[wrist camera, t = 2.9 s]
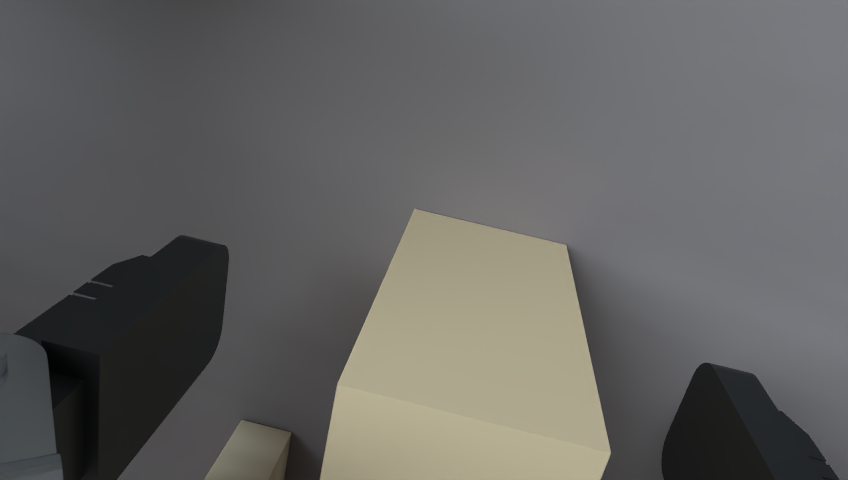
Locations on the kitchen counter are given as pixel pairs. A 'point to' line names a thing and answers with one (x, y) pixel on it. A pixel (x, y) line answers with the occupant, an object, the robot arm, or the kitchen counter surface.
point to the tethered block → (469, 365)
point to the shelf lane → (252, 454)
